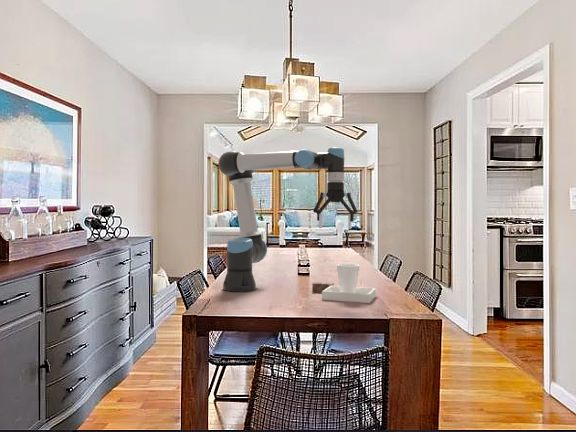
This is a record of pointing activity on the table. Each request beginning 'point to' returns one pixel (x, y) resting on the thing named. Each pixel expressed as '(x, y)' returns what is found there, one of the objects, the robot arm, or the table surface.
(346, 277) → the foam cup
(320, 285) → the walnut block
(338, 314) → the table surface
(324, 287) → the walnut block
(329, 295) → the tray
